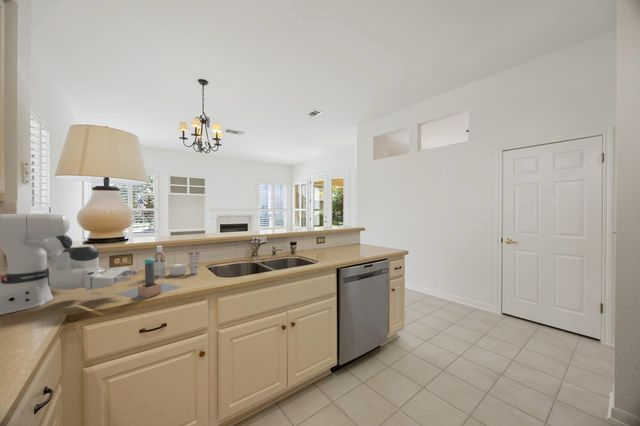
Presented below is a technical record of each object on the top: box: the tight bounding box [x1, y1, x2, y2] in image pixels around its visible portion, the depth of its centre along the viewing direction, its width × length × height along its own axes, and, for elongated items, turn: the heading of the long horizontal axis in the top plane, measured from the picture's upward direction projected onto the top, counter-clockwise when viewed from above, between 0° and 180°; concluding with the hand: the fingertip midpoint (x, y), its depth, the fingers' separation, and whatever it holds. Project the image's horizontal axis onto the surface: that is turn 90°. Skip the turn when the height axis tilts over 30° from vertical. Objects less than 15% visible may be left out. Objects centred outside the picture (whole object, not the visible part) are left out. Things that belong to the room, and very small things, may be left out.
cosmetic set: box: [152, 245, 201, 278], centre depth 152 cm, size 25×9×19 cm, turn 115°
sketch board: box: [117, 281, 182, 301], centre depth 123 cm, size 20×19×1 cm
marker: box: [144, 258, 155, 287], centre depth 117 cm, size 4×4×16 cm
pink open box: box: [137, 282, 162, 299], centre depth 117 cm, size 7×7×4 cm
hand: (133, 275), depth 115 cm, fingers open, 8 cm apart
